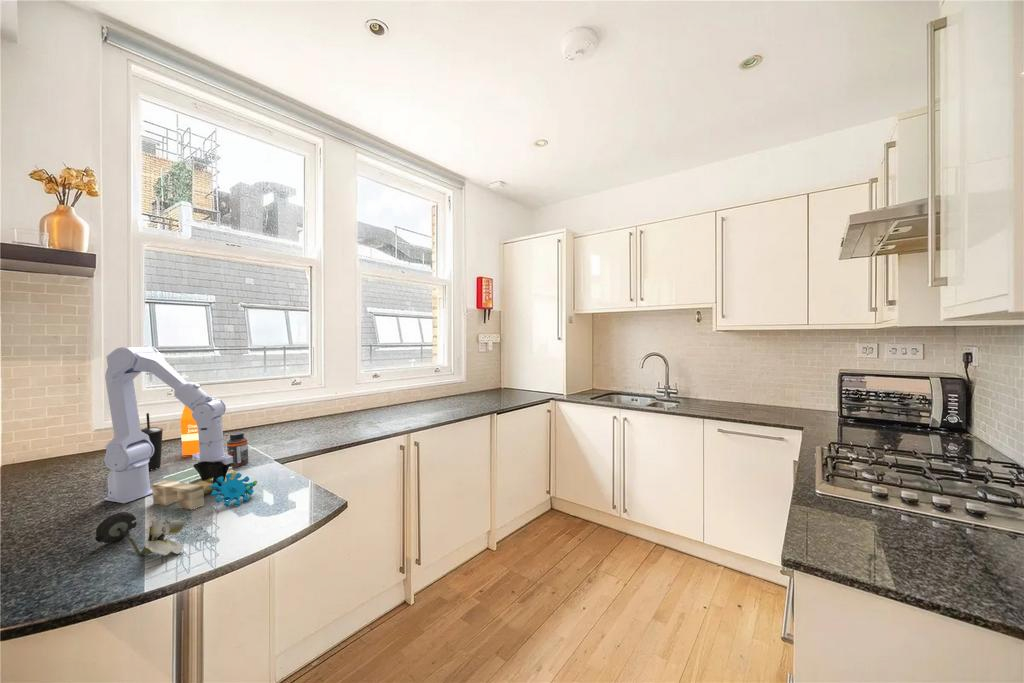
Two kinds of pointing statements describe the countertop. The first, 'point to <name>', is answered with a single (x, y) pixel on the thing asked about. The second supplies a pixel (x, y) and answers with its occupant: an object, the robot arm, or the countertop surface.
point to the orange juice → (189, 433)
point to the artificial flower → (122, 522)
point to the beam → (178, 494)
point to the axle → (209, 482)
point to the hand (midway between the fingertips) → (214, 485)
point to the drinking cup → (154, 444)
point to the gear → (233, 489)
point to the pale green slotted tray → (186, 476)
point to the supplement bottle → (238, 449)
